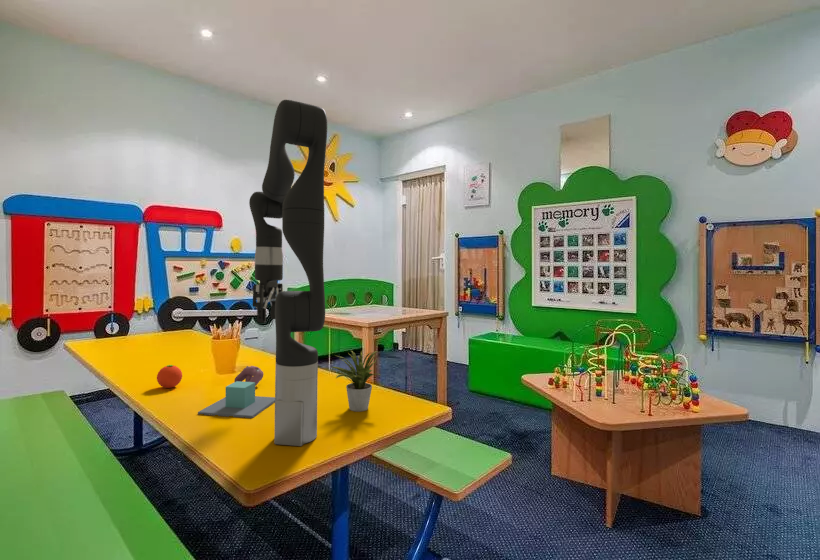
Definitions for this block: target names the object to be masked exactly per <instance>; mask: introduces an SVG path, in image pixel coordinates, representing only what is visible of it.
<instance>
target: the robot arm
mask: <svg viewBox="0 0 820 560" xmlns="http://www.w3.org/2000/svg"><path fill="white" fill-rule="evenodd" d="M327 142H328V117H327V113H326V110H325V109H324V108H323V107H320V106H318V105H314V104H309V103H304V102H300V101H297V100H292V99H283V100H281V101H280V102H279V104H278V105H277V107H276V110H275V114H274V119H273V125H272V132H271V139H270V146H269V147H270V148H269V156H268V163H267V169H266V171H265V174H264V178H263V180H262V184H261V190H262V191H254V192H253V193H252V194H251V195H250V197H249V200H248V201H249V203H248V205H249V209H250V212H251V216H252V219H253V222H254V228H255V253H254V280H255V281H259V283H258V284H254V285H252V286H253V289H252V291H253V292H252V307H254V308H255V309H256V310H257V311H256V319H257V320H256V322H257V323H260V324H261V323H266V322H267V309H266V308H267V305H268V303H270V320H274V321H275V376H274V377H275V381H274V388H275V389H274V392H275V393H274V397H275V403H274V445H283V446H293V447H294V446H295V447H297V446H298V447H302V446H303V445H304V444H308V443H311V442H312V441H314V440H315V439H316V438H317V437H318V434H317V433H318V376H319V374H318V370H319V367H318V366H319V365H318V364H319V352H318V349H317V348H316V347H314V346H311V345H308V344H305V343H301V342H299V341H297V340H296V339H294V338H293V337H292V335H291V333H300V332H302V333H306V332H319V331H321V330H322V329H323V328H324V326H325V321H326V298H325V297H326V294H325V293H326V291H325V277H324V245H325V243H324V242H325V241H324V240H325V239H324V238H325V165H326V153H327V151H326V150H327V144H328V143H327ZM286 144H288V145H293V146H298V147H304V148H307V149H308V155H307V160H306V164H305V166H304V168H303V170H302V171H301V173H300V175H299V176H298V177H297V179H296V180H295V169H294V168H295V167H294V165H293V163H292V161H291V159H290V157H289V154H288V152H287V150H286ZM294 180H295V182H294ZM265 218H268V219H270V218H271V219H282V220H281V222H282V225H281V227H282V229H281V228H280V227H278V226H275V225H271V224H269V223H267V222H266V220H265ZM283 236H284V238H285V241H286V242H287V244H288V245H289V247H290V248H291V250H292V252H293V253H294V255H295V256H296V258H297V259H298V260H299V263H300V265H301V266H302V268H303V270H304V272H305V274H306V278H307V280H308V286H309V290H284V289H283V287H284V285H283V283H281V282H280V283H278V281H282V280H283V277H284V276H283V274H284V273H283V270H284V268H283V266H284V265H283V264H284V259H283V258H284V254H283Z"/></svg>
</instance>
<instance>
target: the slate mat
mask: <svg viewBox="0 0 820 560" xmlns="http://www.w3.org/2000/svg"><path fill="white" fill-rule="evenodd" d="M225 403H226V396H225V397H223V398H221V399H219V400H217V401H216V402H214V403H212V404H210V405H208V406H206V407H205V408H203V409H201V410H199V411H198V412H197V415H200V414H204V416H215V415H218V416H219V417H229V416H233V417H234V418H244V417H245V418H247V419H248V418H249V419H253V418H255V417H256V416H258V415H260V413H262V412H263V411H264V410H266V409H267V408H269V407H270V406H271V405H273V404H275V396H273V397H272V396H259V395H255V402H254V403H252V404H251V405H249V406H248V407H246V408H232V407H225ZM218 416H217V417H218Z"/></svg>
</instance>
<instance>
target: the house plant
mask: <svg viewBox="0 0 820 560" xmlns="http://www.w3.org/2000/svg"><path fill="white" fill-rule="evenodd" d="M350 352H351V354H350V353H349V352H347V354H348V355H349V356H350V357H351V359H352V361H353V364H354V366H355V367H354V366H353V364H352V363H351V362H350V361H349V360H348V359H347V358H345V357H343V356H339V355H337V357H339V358H338V360H339V361H342V362H344V364H346V365H347V366H348V367H349V368H350V369H347V368H342V367H338V366H331V368H332V369H336V370H337V371H338V372H339V373H341V374H337V376H336V377H335V379H338V378H340V377H345V378H346V379H348V380H349V381H350V383H348V384H346V386H345V387H346V388H345V389H346V394H347V401H348V407H349V409H348V410H350V411H352V412H365V411H367V410H368V409H369V404H370V399H371V394H372V388H373V385H372V384H371V383H368V382H367V381H368V380H369V378H371V377H372V376H375V375H376V373H371V372H375V371H374V369H371V368H372V366H373V365H374V364H375V363H376V362H377V359H375V357H376V354H377V353H378V352H379V350H377V351H373V352H368V353H367V354H366V355H365V357H364V359H363V351H362V350H361V351H360V354H359V355H356V353H355V352H354V351H353V350H350ZM333 356H335V357H336V355H335V354H334V355H333ZM357 358H358V359H357ZM373 360H374V361H373ZM336 370H334V371H336ZM378 375H379V376H381V374H380V373H378Z"/></svg>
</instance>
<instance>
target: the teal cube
mask: <svg viewBox="0 0 820 560" xmlns="http://www.w3.org/2000/svg"><path fill="white" fill-rule="evenodd" d="M255 396H256V386H255V382H245V381H242V382H241V381H236V382H232V383H230V384H228V385H227V386H225V397H226V403H225V407H232V408H246V407H248V406H249V405H251V404H252V403H254V402H255Z"/></svg>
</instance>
